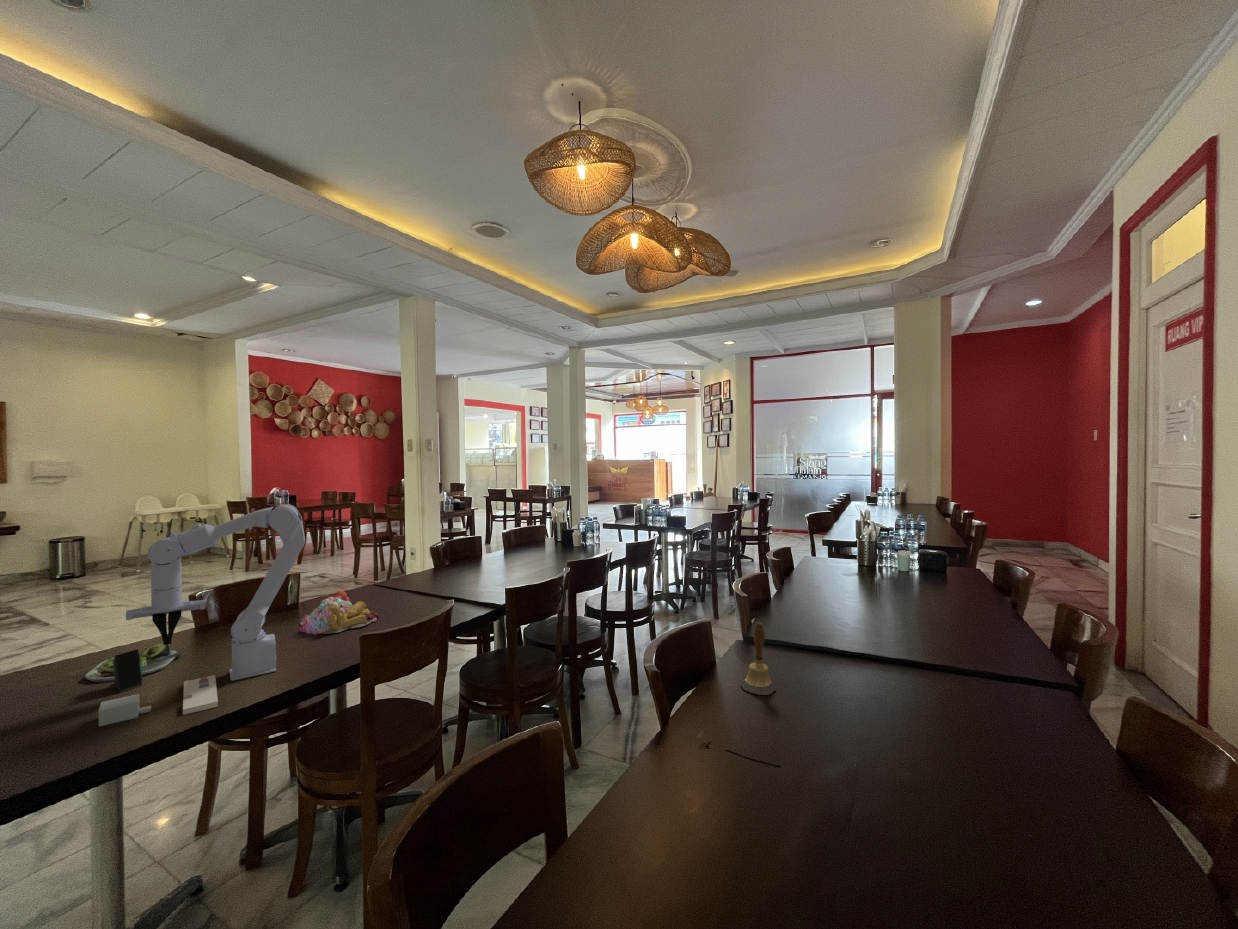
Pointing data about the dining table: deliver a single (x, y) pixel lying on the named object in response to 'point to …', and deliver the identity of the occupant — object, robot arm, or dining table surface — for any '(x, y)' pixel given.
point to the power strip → (200, 694)
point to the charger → (121, 710)
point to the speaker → (127, 670)
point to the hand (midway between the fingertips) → (167, 643)
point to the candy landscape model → (337, 615)
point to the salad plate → (150, 660)
